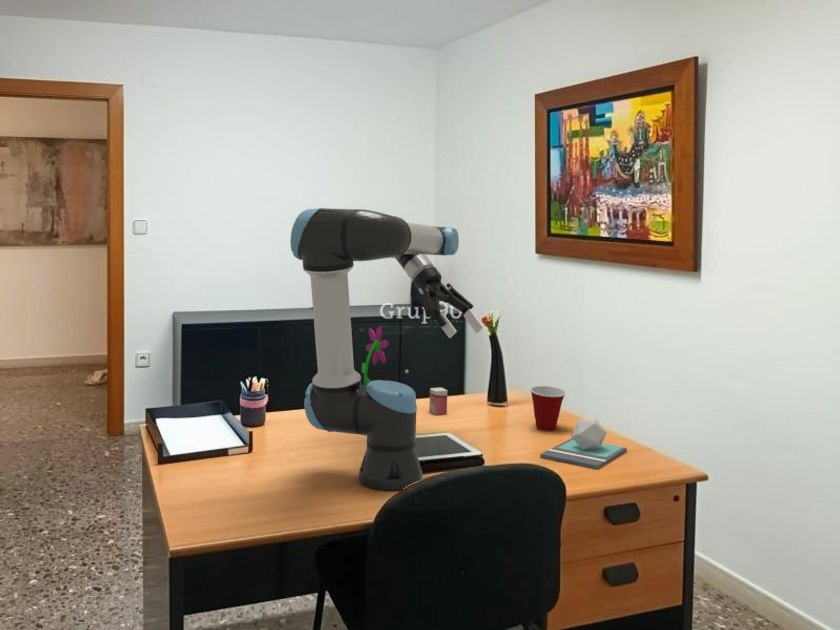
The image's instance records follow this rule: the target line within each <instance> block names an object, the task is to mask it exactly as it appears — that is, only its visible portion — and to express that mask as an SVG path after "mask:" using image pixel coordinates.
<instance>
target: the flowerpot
mask: <svg viewBox="0 0 840 630" xmlns="http://www.w3.org/2000/svg"><path fill="white" fill-rule="evenodd" d="M382 334H383V329H382V326H380V325H379V326H378V327H377V329H376V332H375V331H374V330H373V329H372V328H369V329H368V336H369V338H370V340H371V342H373V343H367V345H366V346H365V348H366V351H368V355H367V356H366V359H365V362H362V363H361V373H362V375H363V386H367V385H368V383H369V382H371V381H372V380H370V379H369V377H368V369H369V364H370V363H369V362H370V359H371V360H372V365H373V366H376V364H377V363H378V361H379V360H380V362H381V363H382V364H386V362H387V361H386V360H387V359H386V355H385V353H384V351H383V350H382V349H387V348H388V346H389V341H387V340H386V339H384V340H381V339H382V336H383V335H382ZM371 357H372V358H371Z"/></svg>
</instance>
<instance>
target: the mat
mask: <svg viewBox="0 0 840 630" xmlns="http://www.w3.org/2000/svg"><path fill="white" fill-rule="evenodd" d="M627 451H628V448H627V447H624V446H619V445H615V444H608V443H604V442H603V443H602V445H601V447H600V449H597V450H581V448H580V447H579V446H578V444H577V443H576V442H575V441H574V439H573V438H572V437H571V438H570V439H567V440H565V441H564V442H561V443H559V444H558V445H556V446H553V447H552V448H549V449H547V450H546V451H544V452H542V453H540V454H539V455H540V457H539V458H540V459H545V460H550V461H553V462H554V461H555V462H557V463H558V462H559V463H565V464H568V465H575V466H579V467H583V468H588V469H593V470H599V469H601V468H602V467H604V466H605V465H607V464H609V463H611V462H612V461H614V460H615V459H617V458H618V457H621V456H622V455H623V454H625V453H626V452H627Z"/></svg>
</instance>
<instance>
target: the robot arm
mask: <svg viewBox="0 0 840 630" xmlns="http://www.w3.org/2000/svg"><path fill="white" fill-rule="evenodd" d="M295 218H296V219H294V220H295V221H294V223H293V224H292V227H291V233H290V241H289V242H290V249H291V253H292V254H293V257H295V258H296V259H297V260H299V261H302V270H303V271H304V272H305V273H307V275H309V277H310V287H311V290H310V291H311V298H312V300H311V301H312V310H313V311H312V312H313V313H312V314H313V324H314V325H313V326H314V338H315V339H314V340H315V350H316V360H317V361H316V365H317V373H316V374H314V376H313V377H312V379H311V380H312V382H311V383H310V384H309V385H308V386H307V388H306V389H305V398H304V401H303V402H304V412H305V416H306V419H307V421H308V422H309V424H310V425H311V426H312V427H313V428H315V429H317V430H322V431H326V432H328V433H343V434H352V435H362V436H366V450H365V453H364V455H363V459H362V461H361V463H360V464H361V465H360V467H359V470H358V471H359V472H358V481H359V483H360V484H361V485H362V486H364V487H367V488H369V489H374V490H381V491H403V490H402V489H403V488H405V487H406V486H408V485H410V484H412V483H414V482H416V481H419V480H421V479H422V480H423V470H422V468H421V463H420V460H419V456H418V453H417V450H416V438H417V435H416V433H417V410H418V406H417V396H416V392H415V390H414V389H413V388H412V387H411V386H409V385H407V384H405V383H401V382H399V381H392V380H380V379H378V380H371V382H369V383H368V385H367V386H364V385H362V376H361V374H360V373H359V372H358V371H356V370H355V364H354V351H353V350H354V349H353V337H352V336H353V335H352V333H353V332H352V321H351V305H350V303H351V302H350V291H349V290H350V289H349V273H350V271H351V270H352V269H353V268H354V262H367V261H369V262H370V261H375V260H377V261H378V260H382V259H390V258H391V259H395V260H396V261H397V262H398V264H399V265H400V266H401V268H402V269H403V270H404V272H405V273H406V274H407V277H408V278H409V279H410V280H411V281H412V282H413V285H414V286H415V287H416V289H417V291H416V293H417V295H418V296H419V298H420V300H421V303H422V306H423V310H424V313H425V316H426V317H427V318H429V320H430V321H434V320H435V321H436V322H437V324H438V326H440V328H441V330H442V331H444V333H445V334H446V337H447V338H448V339H451V338H452V337H453V336H454V335H455V334H456V333H457V331H458V330H456V328H455V327H454V326H453V324H452V323H451V321H450V320H449V319H448V317H447V316H446V315H445V313H444V312H441V307H440V302H443V303H447V304H449V305H450V306H452V307H453V308H455V309H456V310H457V311H459V312H460V313H462V314H463V317H464V319H465V320H466V321H467V323H468V324H469V325H470V326H471V328H472V329H473V331H474V332H475V333H476V334H478V333H479V332H481V330H483V328H485V327H484V325H483V323H482V322H481V321H480V319H479V318H478V317H477V316H476V315H475V313H474V312H473V310H472V309H473V308H474V304H472V303H471V302H470V301H469V300H468V299H467V298H465V297H464V296H463V295H462V294H461V293H460V292H458V291H457V290H456V289H455V288H454V287H453V285H451V283H450V282H448V283H446V285H445V284H443V283H442V278H443V277H442V274H441V272H439V270H438V269H437V267H435V266H434V263H433V262H432V261H431V260H430V258H429V257H428V256H443V257H444V256H454V255H455V254H456V253H457V252H458V250H459V241H460V240H459V239H460V238H459V237H460V236H459V232H458V230H457V228H455V227H453V226H452V227H451V226H449V227H448V226H434V225H427V224H419V223H414V222H407V221H406V220H405V219H403V218H402V217H399V216H397V215H394V216H393V215H392V214H391V215H390V214H386V213H383V212H379V211H374V210H369V209H362V208H361V209H357V208H356V209H355V208H353V209H352V208H325V207H321V208H320V207H319V208H308V209H305V210H302V211H301V212H299V214H298V215H297V216H296V217H295ZM427 255H428V256H427Z"/></svg>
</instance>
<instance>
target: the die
mask: <svg viewBox="0 0 840 630" xmlns="http://www.w3.org/2000/svg"><path fill="white" fill-rule="evenodd" d="M607 434H608V432H607V431H606V430H605V428H604V426H602V425H601V424H600V422H599V421H598V420H597V419H596V418H590V419H578V420H577V422H576V425H575V427H574V429H573V432H572V434H571V438H573V439H574V441H575V442H576V443H577V444H578V446H579V447H580V448H581V450H597V449H600V447H601V445H602V443H604V440H605V438H606V436H607Z"/></svg>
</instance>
